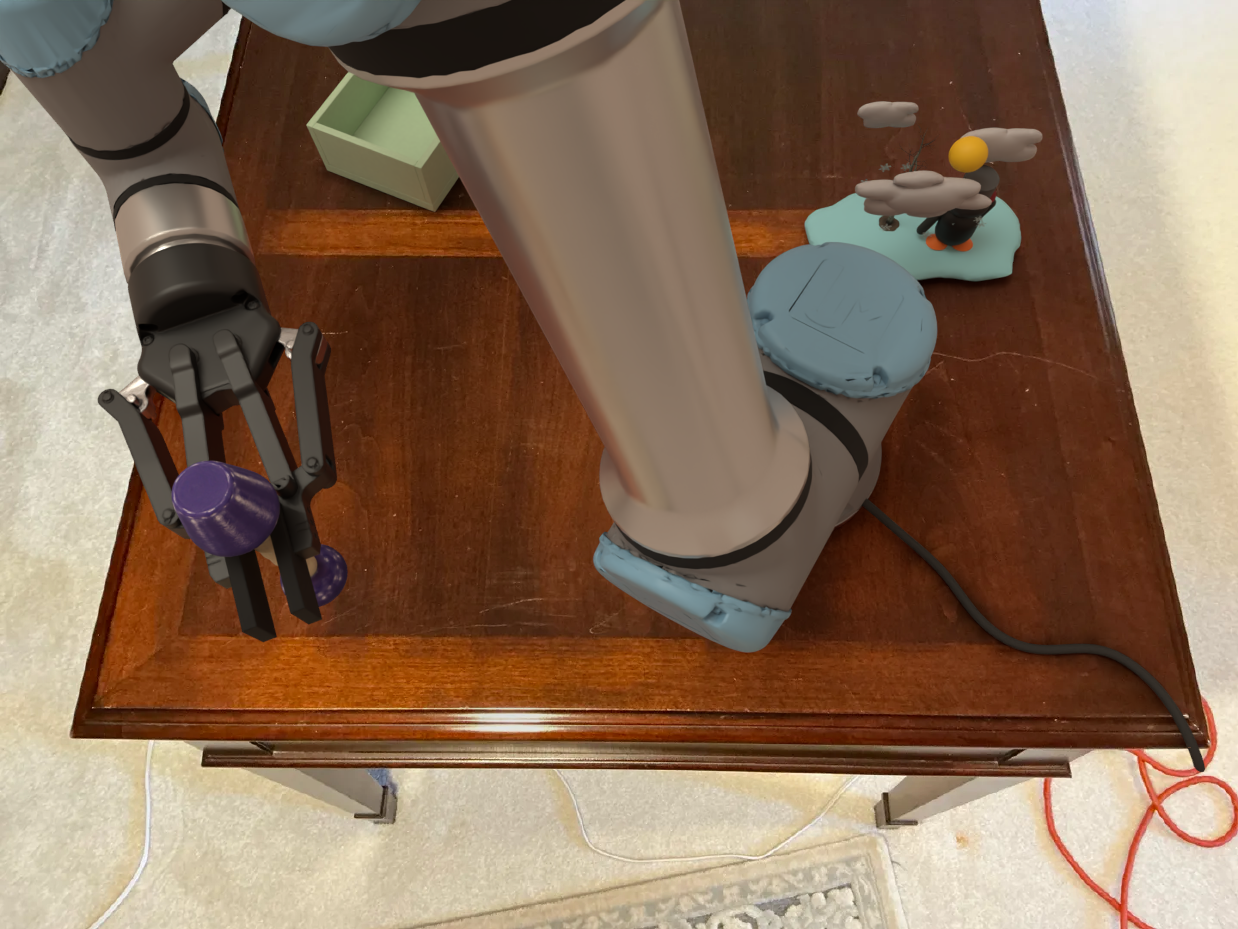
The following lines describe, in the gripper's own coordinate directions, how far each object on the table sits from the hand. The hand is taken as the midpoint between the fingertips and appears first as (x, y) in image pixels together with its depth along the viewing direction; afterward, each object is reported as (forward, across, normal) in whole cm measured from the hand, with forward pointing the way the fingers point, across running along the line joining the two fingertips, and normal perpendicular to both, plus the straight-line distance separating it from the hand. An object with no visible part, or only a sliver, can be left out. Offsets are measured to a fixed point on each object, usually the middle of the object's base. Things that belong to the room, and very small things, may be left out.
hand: (283, 624), depth 45 cm
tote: (-50, -17, -22) cm, 58 cm away
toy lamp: (-6, 0, -10) cm, 11 cm away
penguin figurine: (-20, -57, -22) cm, 64 cm away
